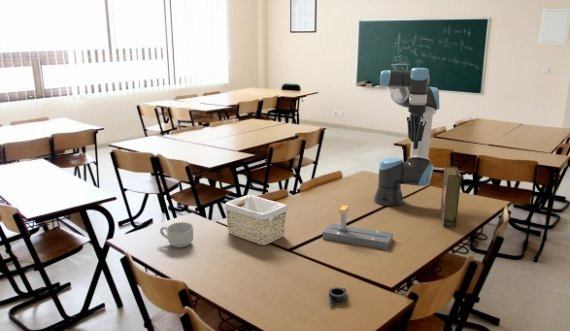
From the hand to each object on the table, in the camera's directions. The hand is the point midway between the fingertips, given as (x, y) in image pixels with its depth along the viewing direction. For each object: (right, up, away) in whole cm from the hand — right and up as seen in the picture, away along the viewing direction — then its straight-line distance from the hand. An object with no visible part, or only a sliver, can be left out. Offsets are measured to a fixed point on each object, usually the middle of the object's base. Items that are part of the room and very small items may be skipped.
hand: (413, 155), depth 217 cm
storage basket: (-71, -36, -8) cm, 80 cm away
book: (+18, -31, +8) cm, 37 cm away
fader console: (-27, -36, -12) cm, 47 cm away
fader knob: (-33, -32, -10) cm, 48 cm away
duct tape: (-41, -49, -59) cm, 87 cm away
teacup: (-104, -38, -17) cm, 112 cm away
